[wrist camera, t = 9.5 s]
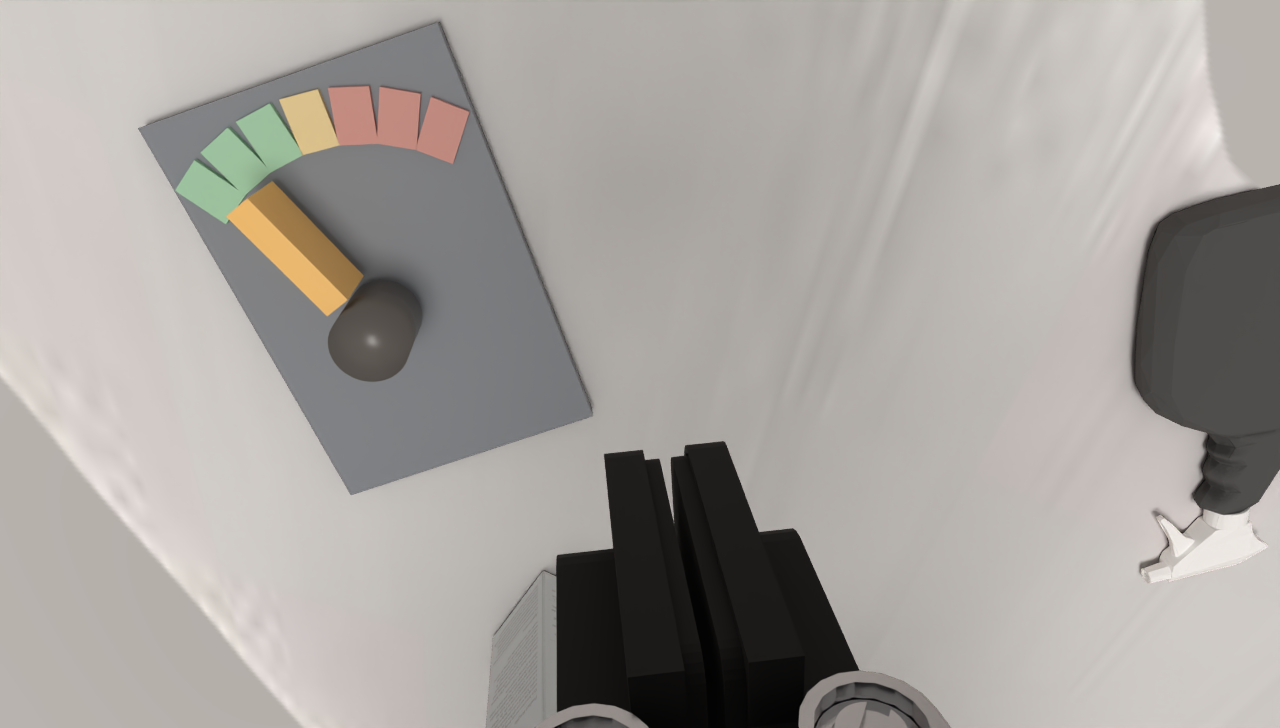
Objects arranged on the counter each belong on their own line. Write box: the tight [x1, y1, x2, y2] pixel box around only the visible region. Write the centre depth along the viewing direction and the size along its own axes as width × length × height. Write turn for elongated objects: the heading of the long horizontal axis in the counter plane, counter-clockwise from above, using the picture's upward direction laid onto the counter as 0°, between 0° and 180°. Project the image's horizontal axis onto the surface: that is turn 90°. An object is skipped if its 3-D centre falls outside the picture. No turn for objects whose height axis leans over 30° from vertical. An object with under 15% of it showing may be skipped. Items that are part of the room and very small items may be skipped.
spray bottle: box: [1135, 184, 1280, 583], centre depth 46 cm, size 3×11×24 cm
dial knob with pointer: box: [226, 181, 422, 382], centre depth 36 cm, size 9×3×4 cm, turn 36°
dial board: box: [138, 22, 593, 495], centre depth 39 cm, size 20×14×1 cm
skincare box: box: [486, 571, 557, 728], centre depth 44 cm, size 6×4×12 cm
